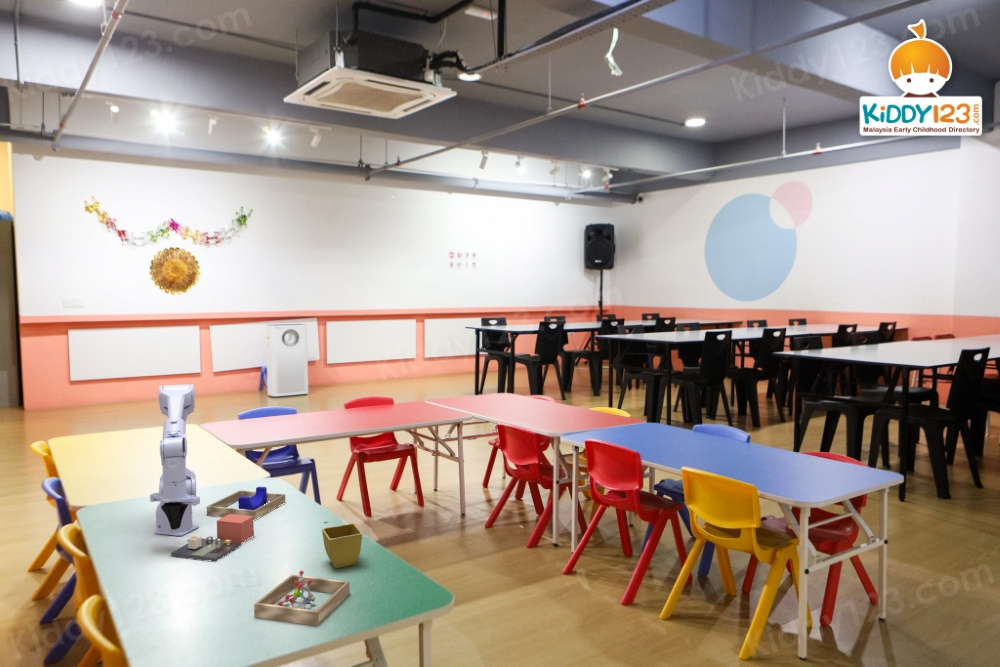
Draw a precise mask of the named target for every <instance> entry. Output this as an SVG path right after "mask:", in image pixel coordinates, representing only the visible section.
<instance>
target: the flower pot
mask: <svg viewBox="0 0 1000 667" xmlns="http://www.w3.org/2000/svg"><path fill="white" fill-rule="evenodd" d="M321 532H322V539H323V545H324V550H325V553H326V555H327V557H328V558H329V561H330V563H331V564H332V565H333V567H334V568H335V569H340V568H344V567H348V566H354V565H355V564H356V562H357V561H358V559H359V556H360V555H361V551H362V550H361V549H362V541H363V540H362V539H363V532H362V531H361V530H360V528H358V526H357V525H356V524H355V523H347V524H341V525H336V526H335V525H334V526H330V527H323V528H321Z"/></svg>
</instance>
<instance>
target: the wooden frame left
mask: <svg viewBox="0 0 1000 667" xmlns="http://www.w3.org/2000/svg"><path fill="white" fill-rule="evenodd" d="M255 494H256V491H253V490H238V491H236V492H234V493H232V494H230V495H228V496H226V497H223V498H222V499H219V500H217V501H214V502H213V503H211V504H209V505H207V506H206V516H207V517H214V516H219V517H218V518H223V517H225V516H226V515H228V514H235V515H245V516H253V520H255V519H257V518H258V517H260V516H262V515H264V514H266V513H267V514H269V513H270V512H269V511H271V510H273V509H274V508H276V507H278V506H279V505H281V504H283V503H285V504H286V494H284V493H274V492H267V501H270V502H267V504H265V505H263V506H261V507H259V508H258V509H256V510H245V509H239V508H234V507H229V506H231V505H233V504H235V503H237V502H239V501H238V498H239V497H241V496H244V497H252V496H254V495H255ZM236 501H237V502H236ZM234 502H235V503H234ZM232 503H233V504H232ZM230 504H231V505H230ZM228 505H229V506H228ZM283 505H284V504H283ZM226 506H227V507H226ZM281 506H282V505H281ZM278 508H279V507H278ZM276 509H277V508H276ZM274 510H275V509H274ZM274 510H273V511H274ZM268 512H269V513H268ZM271 512H272V511H271ZM267 514H266V515H267ZM264 516H265V515H264ZM262 517H263V516H262ZM260 518H261V517H260ZM257 520H258V519H257ZM255 521H256V520H255Z"/></svg>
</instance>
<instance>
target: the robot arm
mask: <svg viewBox="0 0 1000 667" xmlns="http://www.w3.org/2000/svg"><path fill="white" fill-rule="evenodd" d="M195 388H196V386H195V384H193V383H191V384H171V385H167V384H166V385H163V384H161V385H160V386H159V387H158V405H159V410H160V411H161V415H164V416H167V418H168V419H166V420H165V421H164V423H163V428H162V431H163V432H162V439H161V440H160V442H159V456H160V461H161V466H162V474H161V475H160V477H159V485H158V492H155V493H151V494H150V495H149V498H150V499H149V500H150V502H151V503H152V502H159V503H158V505H157V506H156V509H155V531H153V532H154V534H158V535H167V536H175V537H182V536H185V535H186V534H188V533H190V532H193V531H194V530H195V529H196V530H197V529H198V528H199V527H200V526H199V524H193V512H192V511H193V508H192V506H193V507H195V506H197V505H200V503H201V497H200V496H197V480H196V473H195V472H194V471H192V470H191V469H189V468H187V465H186V463H187V462H186V458H187V456H188V455H187V453H188V441H187V437H186V436H187V434H186V430H187V426H186V422H187V419H188V416H189V415H190V414H192V413H193V412H194V410H195V408H196V407H195V406H196V405H195V403H196V398H195V396H196V391H195Z"/></svg>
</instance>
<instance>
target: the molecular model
mask: <svg viewBox="0 0 1000 667" xmlns="http://www.w3.org/2000/svg"><path fill="white" fill-rule="evenodd" d="M304 573H305V571H304V570H300V571H299V572H298V574H299V576H300V578H299V580H298V581H295V582H294V585H296V588H295V591H294V592H293V593H292V594H285V595H284V596H285V597H284V599H283V600H280V601H277V605H278V606H283V604H284V603H289V602H290V603H291V607H293V608H300V609H307V608H306V605H307V604H310V603H311V602H312V603H313V602H315V601H316V597H315V596H314V594H313V593H312V592H311V590H309V587H310V586H309V584H311V583H312V580H311V579H309V580H308V583H307V585H306V584H304V582H303V578H302V576H304ZM299 582H300V584H299ZM301 583H302V584H301ZM298 584H299V585H298ZM298 587H299V588H298ZM302 587H303V589H300V588H302ZM305 589H306V590H305ZM305 591H307V593H308V594H307V596H306V597H305V595H304V592H305ZM298 598H302V599H303V601H304V603H303V605H302V606H300V607H297V605H295V604H294V602H295V601H297V600H298Z"/></svg>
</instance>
